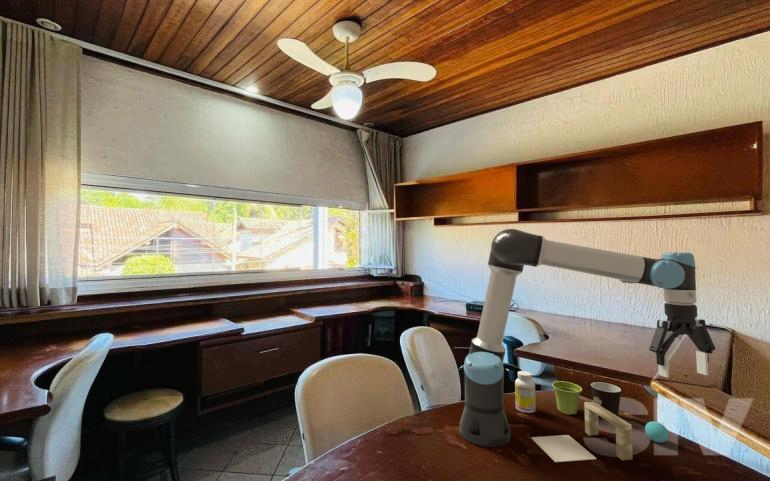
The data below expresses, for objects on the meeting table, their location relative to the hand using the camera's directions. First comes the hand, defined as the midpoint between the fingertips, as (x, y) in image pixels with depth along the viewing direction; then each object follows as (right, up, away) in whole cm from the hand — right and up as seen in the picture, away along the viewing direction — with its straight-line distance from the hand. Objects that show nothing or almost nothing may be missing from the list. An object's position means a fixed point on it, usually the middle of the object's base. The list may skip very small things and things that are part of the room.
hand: (683, 375), depth 103 cm
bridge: (-25, -19, -3) cm, 32 cm away
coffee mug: (-14, -20, +15) cm, 29 cm away
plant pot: (-25, -20, +18) cm, 37 cm away
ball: (-9, -16, -1) cm, 19 cm away
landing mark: (-39, -19, -5) cm, 44 cm away
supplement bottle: (-40, -20, +19) cm, 48 cm away
